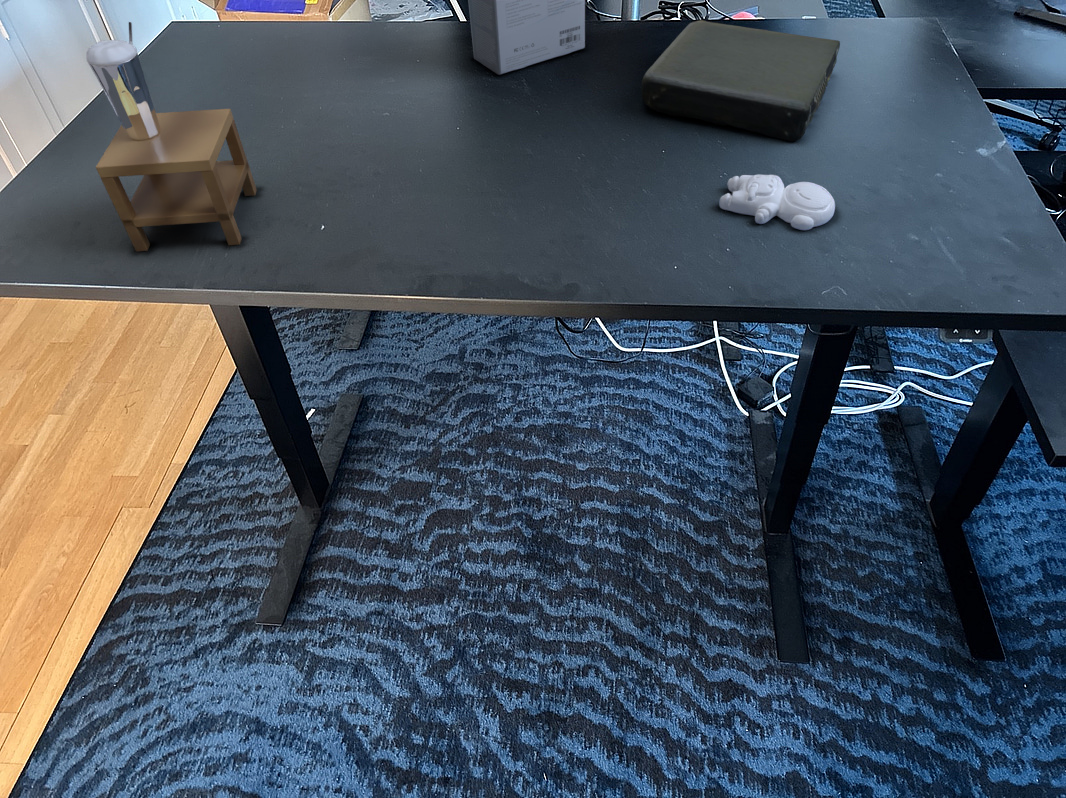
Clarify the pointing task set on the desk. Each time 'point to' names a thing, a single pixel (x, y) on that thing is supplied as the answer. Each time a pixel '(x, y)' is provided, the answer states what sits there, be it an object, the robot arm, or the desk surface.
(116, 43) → the milkshake
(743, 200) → the astronaut figurine
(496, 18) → the hard drive box
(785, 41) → the network switch
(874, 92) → the desk surface
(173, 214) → the wooden side table
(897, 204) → the desk surface
